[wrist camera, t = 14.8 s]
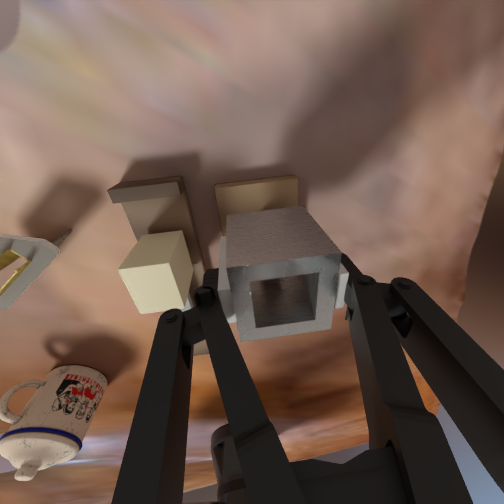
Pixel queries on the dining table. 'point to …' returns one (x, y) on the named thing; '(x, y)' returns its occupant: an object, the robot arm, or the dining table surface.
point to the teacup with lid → (51, 419)
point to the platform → (38, 256)
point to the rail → (163, 220)
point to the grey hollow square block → (280, 273)
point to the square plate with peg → (255, 196)
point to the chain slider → (159, 273)
